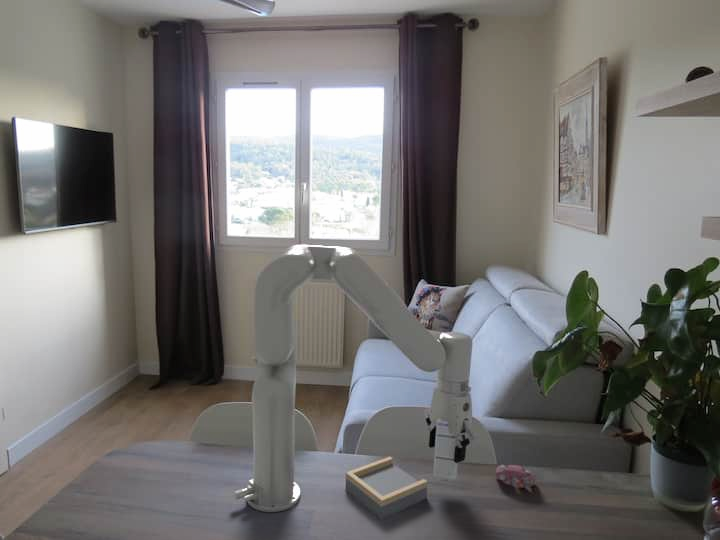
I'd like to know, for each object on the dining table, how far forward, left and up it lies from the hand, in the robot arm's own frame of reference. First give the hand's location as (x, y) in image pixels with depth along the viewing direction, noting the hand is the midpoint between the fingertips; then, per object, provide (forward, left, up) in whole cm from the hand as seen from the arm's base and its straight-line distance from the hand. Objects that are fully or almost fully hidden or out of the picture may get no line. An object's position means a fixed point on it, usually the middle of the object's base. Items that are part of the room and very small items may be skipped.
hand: (446, 453), depth 126 cm
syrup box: (0, 0, -5) cm, 5 cm away
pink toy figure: (+17, -8, -11) cm, 22 cm away
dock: (-12, +8, -10) cm, 18 cm away
